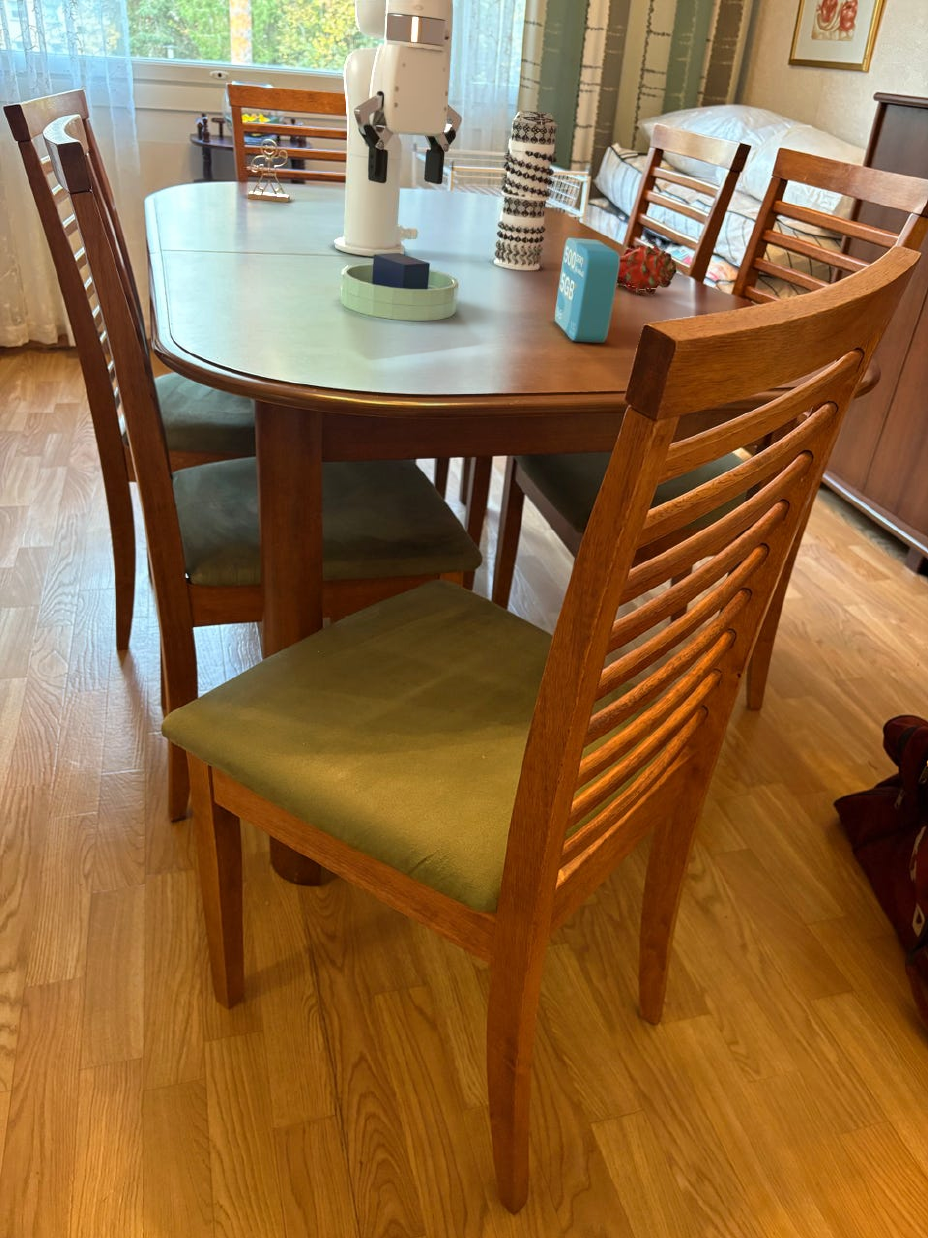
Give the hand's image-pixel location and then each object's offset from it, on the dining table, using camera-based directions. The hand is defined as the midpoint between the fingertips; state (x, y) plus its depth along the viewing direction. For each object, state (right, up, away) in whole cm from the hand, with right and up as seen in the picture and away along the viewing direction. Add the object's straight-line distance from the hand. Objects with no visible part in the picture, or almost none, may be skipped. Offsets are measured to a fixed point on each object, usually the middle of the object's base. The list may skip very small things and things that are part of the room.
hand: (405, 182), depth 129 cm
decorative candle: (+18, +6, +47) cm, 50 cm away
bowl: (-2, -14, +9) cm, 17 cm away
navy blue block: (-2, -14, +9) cm, 16 cm away
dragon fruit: (+38, -2, +37) cm, 53 cm away
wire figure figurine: (-36, +34, +83) cm, 97 cm away
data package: (+24, -19, +7) cm, 31 cm away
